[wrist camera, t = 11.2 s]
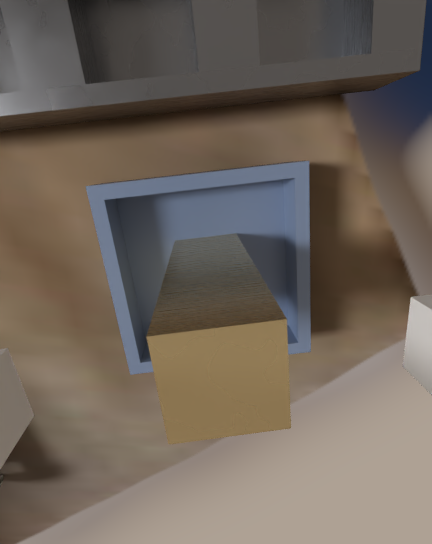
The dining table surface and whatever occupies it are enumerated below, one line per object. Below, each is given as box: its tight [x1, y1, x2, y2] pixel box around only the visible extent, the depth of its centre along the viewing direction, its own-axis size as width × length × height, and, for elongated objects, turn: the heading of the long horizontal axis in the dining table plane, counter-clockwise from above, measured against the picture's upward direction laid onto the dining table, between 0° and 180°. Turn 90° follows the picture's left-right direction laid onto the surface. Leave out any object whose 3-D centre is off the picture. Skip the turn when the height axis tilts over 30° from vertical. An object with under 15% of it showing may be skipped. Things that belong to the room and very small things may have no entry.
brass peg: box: [146, 233, 291, 444], centre depth 15 cm, size 4×4×12 cm
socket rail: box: [0, 0, 426, 131], centre depth 15 cm, size 26×7×4 cm, turn 96°
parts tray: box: [86, 161, 311, 375], centre depth 20 cm, size 12×12×3 cm
